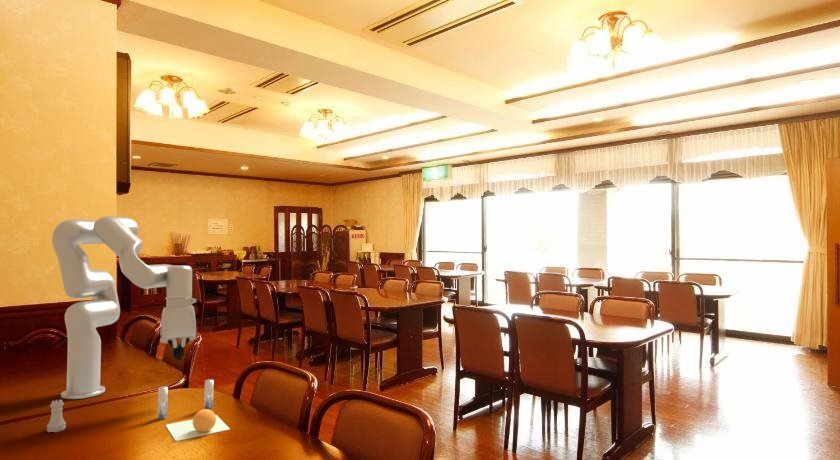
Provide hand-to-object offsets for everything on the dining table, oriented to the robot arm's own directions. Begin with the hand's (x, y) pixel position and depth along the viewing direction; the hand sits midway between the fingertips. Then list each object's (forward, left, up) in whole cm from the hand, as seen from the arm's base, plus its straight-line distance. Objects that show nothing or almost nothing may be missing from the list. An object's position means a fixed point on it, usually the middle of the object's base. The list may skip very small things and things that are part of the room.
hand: (178, 359), depth 162 cm
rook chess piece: (+6, -32, -14) cm, 36 cm away
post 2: (+13, +7, -14) cm, 20 cm away
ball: (+31, +1, -11) cm, 33 cm away
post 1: (+13, -6, -14) cm, 20 cm away
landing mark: (+27, 0, -14) cm, 30 cm away
